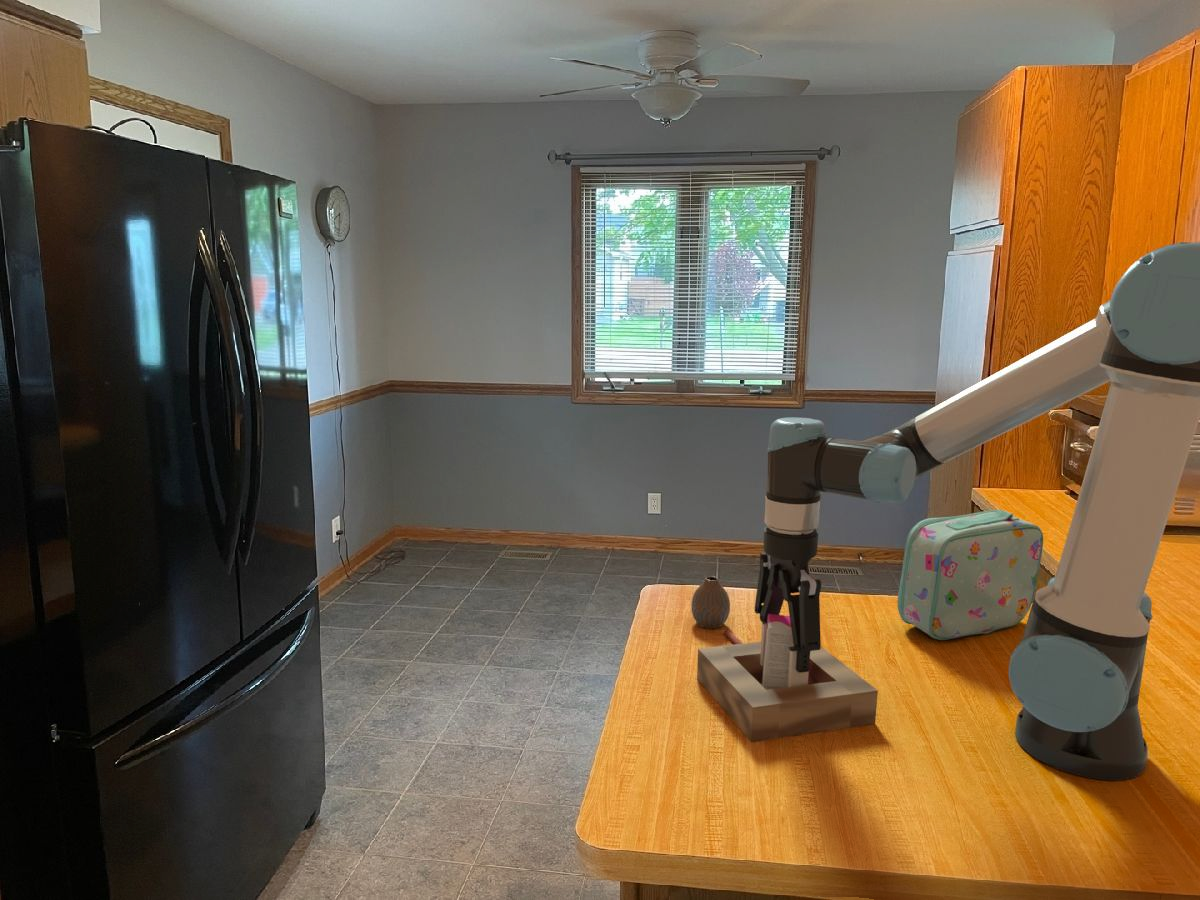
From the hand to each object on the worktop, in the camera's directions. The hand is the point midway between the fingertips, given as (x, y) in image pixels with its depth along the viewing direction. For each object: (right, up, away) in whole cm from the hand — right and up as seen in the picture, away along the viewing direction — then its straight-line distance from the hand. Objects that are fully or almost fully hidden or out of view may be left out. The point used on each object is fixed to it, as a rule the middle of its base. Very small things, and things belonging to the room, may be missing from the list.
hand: (782, 676), depth 121 cm
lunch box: (+40, +1, +29) cm, 49 cm away
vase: (-7, +1, +28) cm, 29 cm away
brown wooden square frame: (0, -4, +1) cm, 4 cm away
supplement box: (0, -3, +1) cm, 3 cm away
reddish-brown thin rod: (-3, 0, +18) cm, 18 cm away
